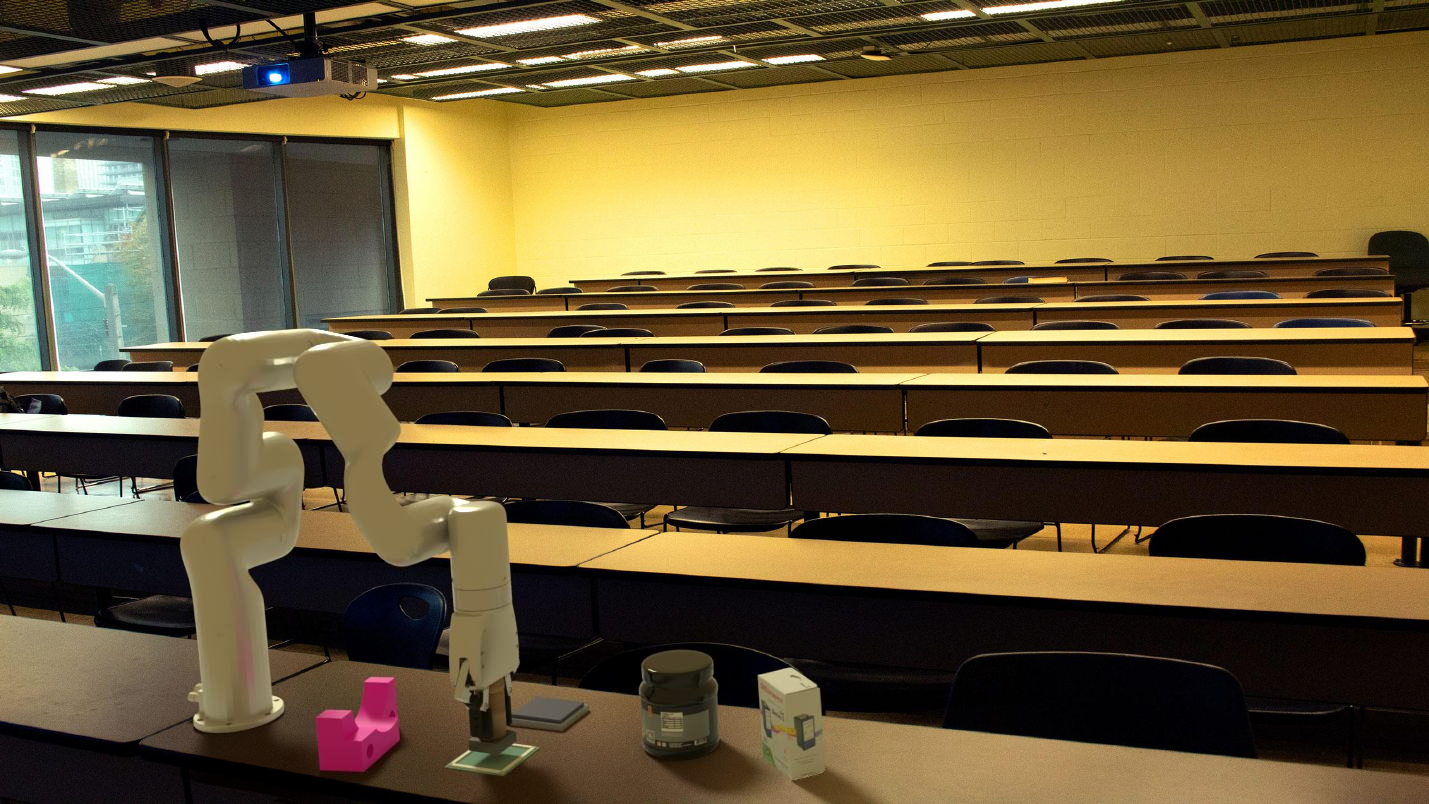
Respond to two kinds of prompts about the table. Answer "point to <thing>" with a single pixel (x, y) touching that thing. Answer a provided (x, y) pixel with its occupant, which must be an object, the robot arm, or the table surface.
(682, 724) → the supplement container
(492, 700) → the stamp
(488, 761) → the mat
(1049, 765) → the table surface
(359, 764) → the toy block
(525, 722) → the ink pad
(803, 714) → the ink box
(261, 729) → the table surface
